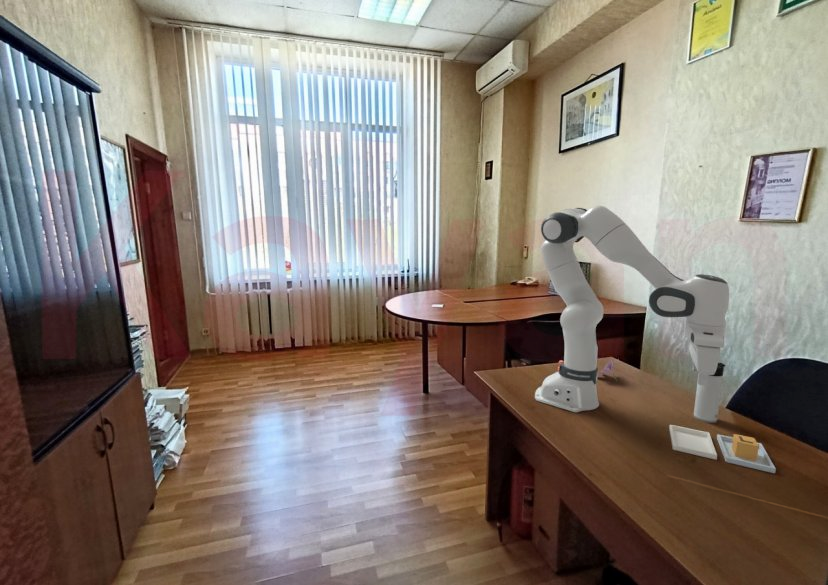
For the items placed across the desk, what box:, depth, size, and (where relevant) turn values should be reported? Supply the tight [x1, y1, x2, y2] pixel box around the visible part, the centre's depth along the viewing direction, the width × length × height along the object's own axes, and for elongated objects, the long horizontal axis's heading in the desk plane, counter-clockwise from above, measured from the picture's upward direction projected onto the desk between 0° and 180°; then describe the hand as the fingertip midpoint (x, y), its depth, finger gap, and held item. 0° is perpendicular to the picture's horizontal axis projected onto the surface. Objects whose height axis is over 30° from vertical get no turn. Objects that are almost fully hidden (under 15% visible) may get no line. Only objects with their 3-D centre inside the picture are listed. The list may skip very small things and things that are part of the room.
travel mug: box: [693, 362, 726, 424], centre depth 122 cm, size 6×7×20 cm
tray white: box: [668, 424, 718, 461], centre depth 110 cm, size 10×13×2 cm
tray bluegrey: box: [716, 433, 777, 474], centre depth 104 cm, size 10×13×2 cm
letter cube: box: [732, 433, 759, 461], centre depth 104 cm, size 4×4×5 cm
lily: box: [598, 359, 618, 382], centre depth 157 cm, size 12×12×10 cm
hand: (698, 378), depth 106 cm, fingers open, 8 cm apart
